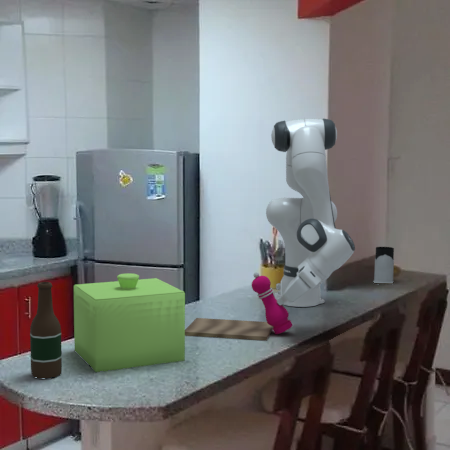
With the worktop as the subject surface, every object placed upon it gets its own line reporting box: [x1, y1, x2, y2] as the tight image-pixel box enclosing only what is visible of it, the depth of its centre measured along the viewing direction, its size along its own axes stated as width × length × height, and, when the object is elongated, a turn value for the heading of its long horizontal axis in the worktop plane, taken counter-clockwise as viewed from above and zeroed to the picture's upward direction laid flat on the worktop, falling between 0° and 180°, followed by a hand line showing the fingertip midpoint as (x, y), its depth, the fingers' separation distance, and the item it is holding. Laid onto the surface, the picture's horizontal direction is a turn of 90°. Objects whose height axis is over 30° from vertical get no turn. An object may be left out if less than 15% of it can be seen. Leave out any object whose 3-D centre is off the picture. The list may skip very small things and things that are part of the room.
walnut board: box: [185, 317, 273, 341], centre depth 236 cm, size 26×18×1 cm
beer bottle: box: [29, 281, 63, 379], centre depth 189 cm, size 8×8×24 cm
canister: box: [73, 272, 186, 373], centre depth 207 cm, size 25×21×23 cm
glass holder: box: [372, 246, 395, 284], centre depth 318 cm, size 9×14×15 cm, turn 170°
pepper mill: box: [251, 272, 293, 335], centre depth 232 cm, size 7×7×20 cm
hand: (278, 302), depth 231 cm, fingers closed, pressing on pepper mill
